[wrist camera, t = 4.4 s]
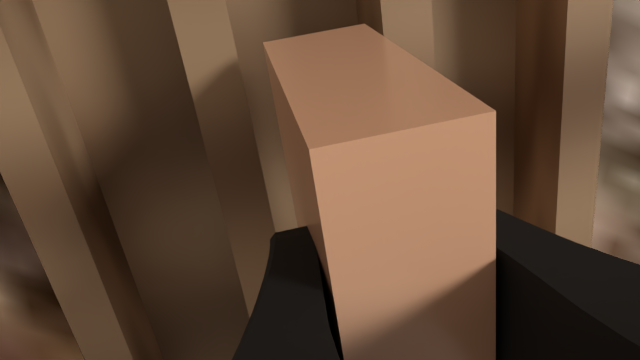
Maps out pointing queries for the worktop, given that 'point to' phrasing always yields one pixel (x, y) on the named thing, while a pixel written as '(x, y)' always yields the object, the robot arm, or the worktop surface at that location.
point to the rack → (249, 143)
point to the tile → (391, 194)
